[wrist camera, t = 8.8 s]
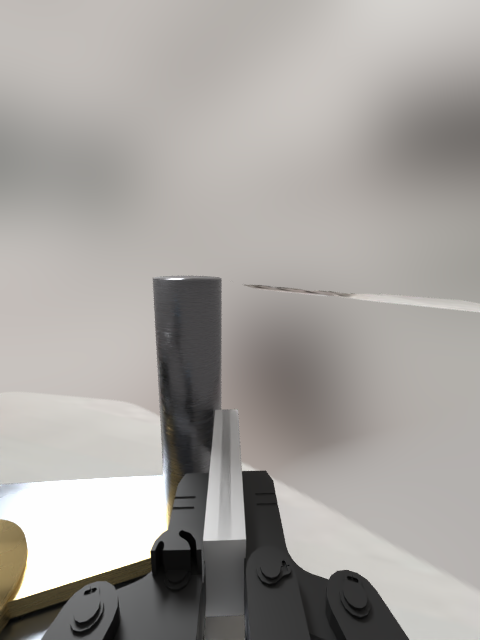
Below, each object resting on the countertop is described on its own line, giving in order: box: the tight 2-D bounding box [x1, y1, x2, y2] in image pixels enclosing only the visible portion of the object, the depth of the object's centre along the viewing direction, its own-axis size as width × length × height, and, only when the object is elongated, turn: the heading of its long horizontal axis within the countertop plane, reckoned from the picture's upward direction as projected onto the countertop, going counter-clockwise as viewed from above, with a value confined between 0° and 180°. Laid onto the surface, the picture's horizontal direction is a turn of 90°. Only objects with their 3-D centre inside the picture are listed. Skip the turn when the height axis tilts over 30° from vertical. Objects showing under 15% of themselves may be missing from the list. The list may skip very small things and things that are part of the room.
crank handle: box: [0, 276, 221, 633], centre depth 13 cm, size 17×7×16 cm, turn 108°
